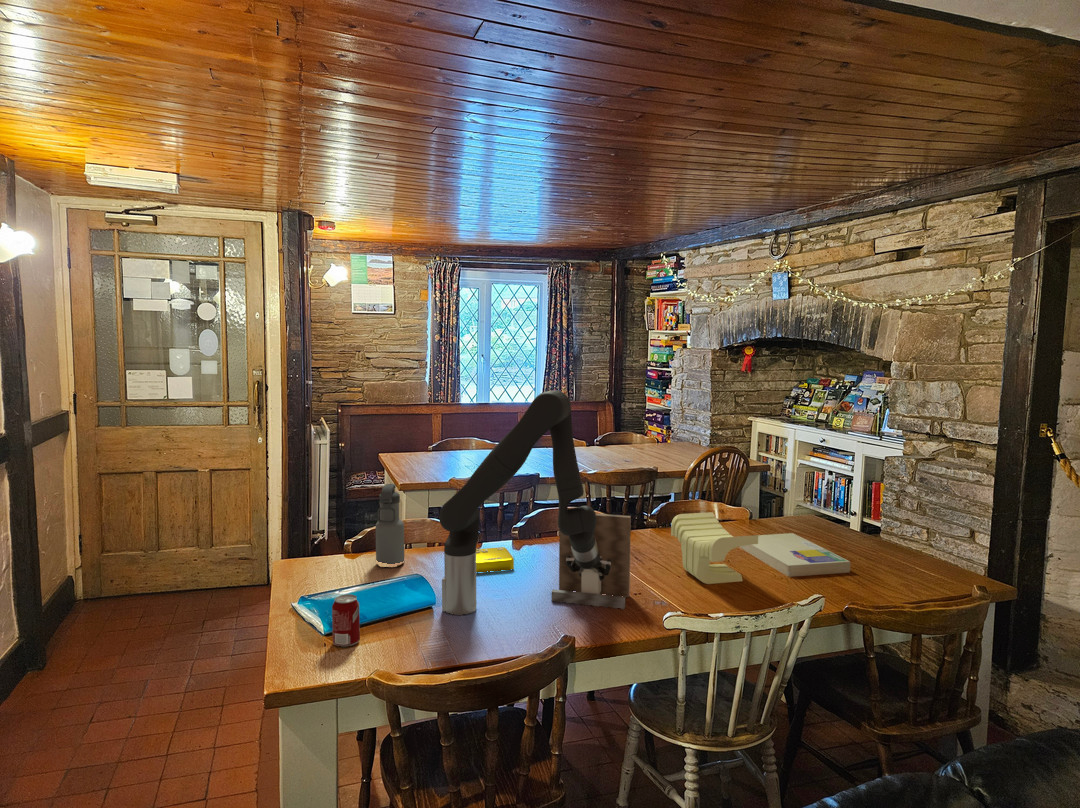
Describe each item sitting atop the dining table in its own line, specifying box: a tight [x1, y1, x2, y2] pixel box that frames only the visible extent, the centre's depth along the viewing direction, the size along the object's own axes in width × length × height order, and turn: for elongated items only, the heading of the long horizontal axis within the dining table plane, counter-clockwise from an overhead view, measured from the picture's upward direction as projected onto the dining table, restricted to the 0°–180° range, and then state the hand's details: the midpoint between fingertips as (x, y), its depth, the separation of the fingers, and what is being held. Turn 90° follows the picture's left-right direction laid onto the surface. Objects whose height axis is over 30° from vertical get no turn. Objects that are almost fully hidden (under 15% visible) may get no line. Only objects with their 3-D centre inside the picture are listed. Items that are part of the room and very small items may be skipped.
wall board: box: [551, 513, 632, 610], centre depth 207 cm, size 22×12×25 cm, turn 75°
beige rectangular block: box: [581, 556, 602, 594], centre depth 208 cm, size 5×6×11 cm
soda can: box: [331, 593, 361, 648], centre depth 176 cm, size 7×7×12 cm
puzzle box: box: [737, 532, 851, 578], centre depth 248 cm, size 36×5×24 cm
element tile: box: [476, 546, 515, 572], centre depth 239 cm, size 15×15×5 cm
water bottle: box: [375, 483, 405, 564], centre depth 238 cm, size 10×10×28 cm
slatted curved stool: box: [670, 511, 759, 585], centre depth 228 cm, size 30×16×18 cm, turn 14°
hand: (592, 576), depth 210 cm, fingers closed on beige rectangular block, 5 cm apart
